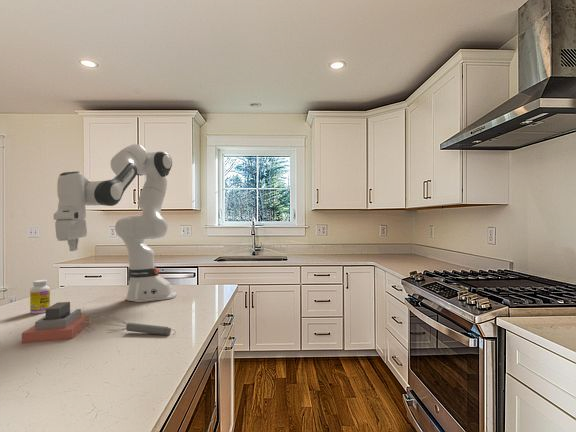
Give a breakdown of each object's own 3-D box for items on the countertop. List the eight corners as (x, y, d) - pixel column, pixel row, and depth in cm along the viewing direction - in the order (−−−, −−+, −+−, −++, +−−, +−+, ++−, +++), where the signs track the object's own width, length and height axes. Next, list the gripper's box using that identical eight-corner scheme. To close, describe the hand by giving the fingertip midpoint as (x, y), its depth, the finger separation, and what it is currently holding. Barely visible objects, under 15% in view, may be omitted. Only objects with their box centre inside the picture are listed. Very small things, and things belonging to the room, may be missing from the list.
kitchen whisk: (170, 339, 109) (170, 319, 109) (76, 335, 114) (76, 316, 114) (180, 332, 115) (179, 313, 115) (90, 329, 120) (89, 311, 120)
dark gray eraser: (70, 318, 121) (70, 301, 121) (59, 326, 112) (59, 308, 112) (57, 319, 120) (57, 302, 120) (45, 327, 112) (45, 309, 112)
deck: (88, 323, 125) (88, 308, 125) (72, 338, 110) (71, 321, 110) (45, 326, 122) (45, 311, 122) (21, 342, 107) (21, 325, 106)
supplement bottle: (39, 314, 138) (39, 282, 138) (26, 313, 139) (25, 282, 139) (54, 310, 145) (53, 279, 145) (41, 309, 146) (40, 279, 146)
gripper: (73, 214, 139) (74, 248, 140) (51, 214, 119) (52, 254, 120) (90, 213, 141) (91, 247, 141) (71, 214, 121) (72, 253, 121)
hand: (73, 250), depth 130 cm, fingers closed
